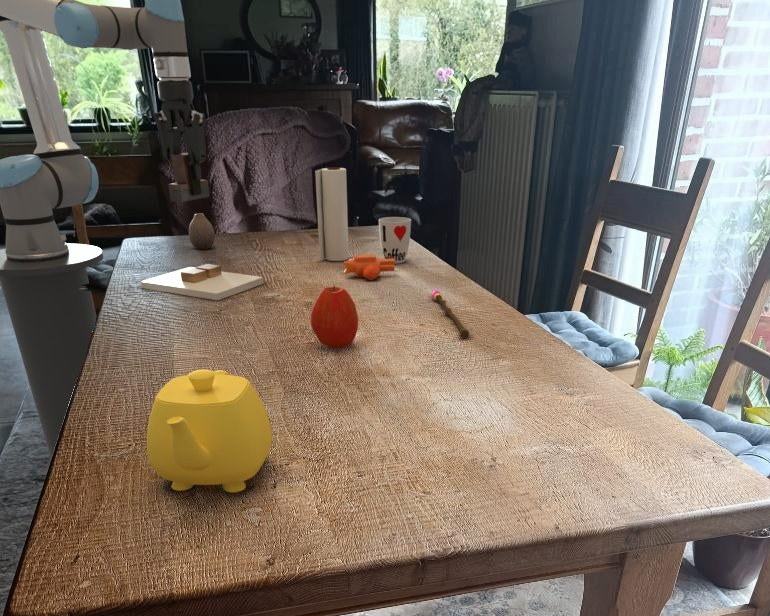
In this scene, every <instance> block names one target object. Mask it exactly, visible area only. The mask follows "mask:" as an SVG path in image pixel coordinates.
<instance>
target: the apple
mask: <svg viewBox="0 0 770 616" xmlns="http://www.w3.org/2000/svg"><path fill="white" fill-rule="evenodd" d="M310 325H311V330H312V331H313V333H314V335H315V337H316V338H317V340H318V341H319V343H320V344H321V345H324V346H326V347H329V348H334V349H342V348H345V347H348V346H351V345H352V343H353V342H354V341H355V338H356V337H357V333H358V330H359V316H358V311H357V307H356V304H355V302H354V300H353V298H352V297H351V295H350V293H349V292H348V291H347V290H346V289H344V287H339V286H338V287H337V286H336V285H335V284H333V286H329V287H324V288H323V289H322V290H321V291H320V292H319V294H318V296H317V298H315V301H314V303H313V306H312V308H311V311H310Z"/></svg>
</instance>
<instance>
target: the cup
mask: <svg viewBox="0 0 770 616" xmlns="http://www.w3.org/2000/svg"><path fill="white" fill-rule="evenodd" d="M378 228H379V229H378V233H379V241H380V248H381V252H382V256H383V259H393V258H394V260H395V265H396V264H403V263H405V262H406V258H407V256H408V252H409V245H410V241H411V229H412V219H411V218H410V217H402V216H401V217H400V216H388V217H386V216H385V217H381V218H379V219H378Z"/></svg>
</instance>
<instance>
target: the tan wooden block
mask: <svg viewBox="0 0 770 616" xmlns="http://www.w3.org/2000/svg"><path fill="white" fill-rule="evenodd" d="M195 268H196V269H200V270H206V275H207V278H212V277H216V276H219V275H222V274H221V271H222V266H221V265H219V264H211V263H205V264H202V265H200V266H199V265H198V266H196V267H195Z"/></svg>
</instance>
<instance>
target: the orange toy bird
mask: <svg viewBox="0 0 770 616" xmlns="http://www.w3.org/2000/svg"><path fill="white" fill-rule="evenodd" d="M343 264H344V265H345V269H344V271H343V273H344V275H347V274H350V273H354V275H356V277H357V278H366V279H367V280H368V281H373V280H374V279H377V278H378V277H380V274H381V273H383V272H395V265H396V264H395V260H394V258H393V259H384V258H379V257H377V256H376V254H356V255H355V256H353V258H348V259H347V260H343Z"/></svg>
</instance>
